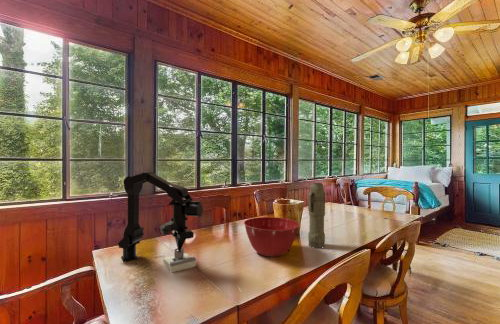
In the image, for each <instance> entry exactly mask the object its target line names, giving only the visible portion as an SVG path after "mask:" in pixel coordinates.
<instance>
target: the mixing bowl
mask: <svg viewBox="0 0 500 324" xmlns="http://www.w3.org/2000/svg"><path fill="white" fill-rule="evenodd" d="M243 224H244V228H245V231H246V234H247V238H248V240H249V243H250V245H251V247H252V249H254V251H255V252H256V253H258V254H259V255H261V256H264V257H269V256H270V257H272V258H274V257H280V256H283V255H284V254H286V253H288V251H289V250H290V249H291V247H292V245H293V243H294V241H295V240H296V236H297V234H298V229H299V227H300V223H299V222H298V221H296V220H293V219H290V218H286V217H285V218H284V217H275V216H273V217H271V216H261V217H253V218H248V219H245V220H244V221H243Z"/></svg>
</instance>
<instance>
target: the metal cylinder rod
mask: <svg viewBox="0 0 500 324" xmlns="http://www.w3.org/2000/svg"><path fill="white" fill-rule="evenodd" d="M184 250H185V249H184V248H183V247H182V248H181V250H178V248H174V256H175V259H174V261H178V260H182V259H184V254H185V252H184Z"/></svg>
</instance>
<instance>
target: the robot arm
mask: <svg viewBox="0 0 500 324" xmlns="http://www.w3.org/2000/svg"><path fill="white" fill-rule="evenodd" d="M147 182H148V183H149V184H151V185H152V186H155V187H156V188H158V189H160V190H161V191H163V192H165V193H166V195H167V196H168V197H169V198H170V199H171V201H170V202H169V203H168V206H172V217H171V218H170V221H167V222H165V223H164V224H161V225H159V229H160V232H161V234H163V236H166V235H168V234H169V233H170V232H172V233H170V235H171V236H172V237H173V238H174V240H175V244H176V247H177V248H178V250H181V248H183V247H184V246H183V245H185V241H186V240H189V239H193V238H194V237H195V236H194V234H195V233H194V231H192V230H190V229H188V226H187V221H188V218H189V217H199V218H200V217H202V216H203V212H204V208H203V204H202V203H201V200H193V198H192V196H191V195H190V193H189V191H188V189H187V187H185V186H182V185H178V184H173V183H171V182H170V181H168V180H166V179H164V178H163V177H161V176H159V175H157V174H155V173H154V172H152V171H144V172H141V173H140V174H139V173H138V174H136V175H128V176H126V177H125V178H124V179H123V189H124V191H125V193H126V194H127V225H126V227H125V229H124V231H123V235H122V239H120V241H118V243H117V244H118V245H117V246H118V248H119V249H122V255H121V257H120V258H121V260H122V261H123V262H129V261H132V260H133V261H134V260H138V259H139V257H138V255H137V245H138V244H140V242H141V240H142V239H143V236H144V227H143V226H141V225H140V221H139V220H140V217H139V216H140V193H141V191H142V190H143V187H144V186H143V185H144V184H145V183H147ZM177 248H176V249H177Z"/></svg>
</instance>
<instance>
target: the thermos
mask: <svg viewBox="0 0 500 324" xmlns="http://www.w3.org/2000/svg"><path fill="white" fill-rule="evenodd" d="M325 192H326V191H325V187H324V184H323V183H321V182H312V183H311V184H310V187H309V192H308V201H307V204H308V205H307V210H308V215H309V231H308V239H307V240H308V247H310V246H311V247H310V248H312V247H314V248H313V249H323V248H322V247H324V248H325V243H326V234H325V215H326V193H325Z"/></svg>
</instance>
